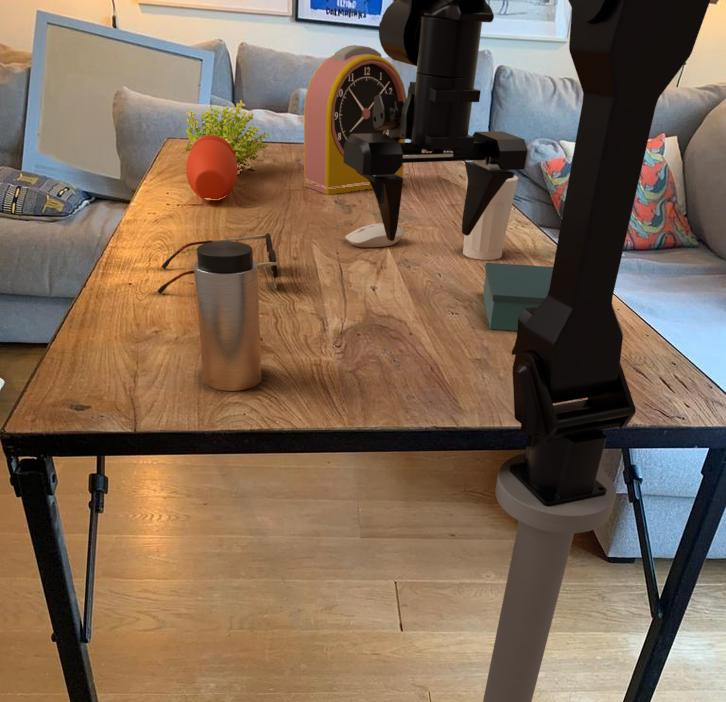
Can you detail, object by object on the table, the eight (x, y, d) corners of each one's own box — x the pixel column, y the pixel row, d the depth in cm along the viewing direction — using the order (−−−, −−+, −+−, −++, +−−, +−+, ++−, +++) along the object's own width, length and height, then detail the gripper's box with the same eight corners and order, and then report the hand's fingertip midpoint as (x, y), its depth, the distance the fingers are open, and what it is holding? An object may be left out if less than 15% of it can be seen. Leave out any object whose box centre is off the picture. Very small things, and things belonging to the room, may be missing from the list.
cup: (467, 262, 115) (477, 181, 108) (451, 247, 121) (459, 170, 115) (514, 260, 117) (526, 181, 110) (495, 246, 123) (506, 170, 117)
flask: (267, 387, 75) (263, 255, 68) (209, 394, 73) (198, 259, 66) (253, 363, 80) (248, 238, 72) (198, 370, 78) (187, 241, 70)
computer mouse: (340, 240, 123) (341, 221, 121) (394, 236, 126) (395, 218, 124) (353, 249, 118) (354, 230, 116) (408, 245, 121) (410, 227, 120)
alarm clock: (327, 194, 151) (329, 46, 137) (302, 186, 157) (302, 43, 142) (403, 184, 162) (413, 47, 148) (377, 177, 168) (384, 44, 154)
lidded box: (575, 335, 91) (582, 300, 88) (488, 329, 91) (493, 294, 89) (558, 299, 102) (564, 267, 99) (481, 294, 102) (485, 262, 100)
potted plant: (273, 236, 143) (267, 160, 177) (274, 161, 134) (267, 96, 167) (173, 233, 141) (186, 157, 174) (166, 156, 131) (182, 91, 165)
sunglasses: (279, 295, 98) (276, 258, 96) (158, 304, 96) (151, 267, 94) (272, 264, 110) (269, 230, 107) (163, 272, 108) (157, 238, 105)
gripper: (486, 65, 80) (466, 212, 89) (326, 62, 73) (322, 221, 82) (544, 79, 71) (516, 240, 80) (370, 77, 65) (360, 252, 74)
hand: (428, 237), depth 79 cm, fingers open, 9 cm apart
